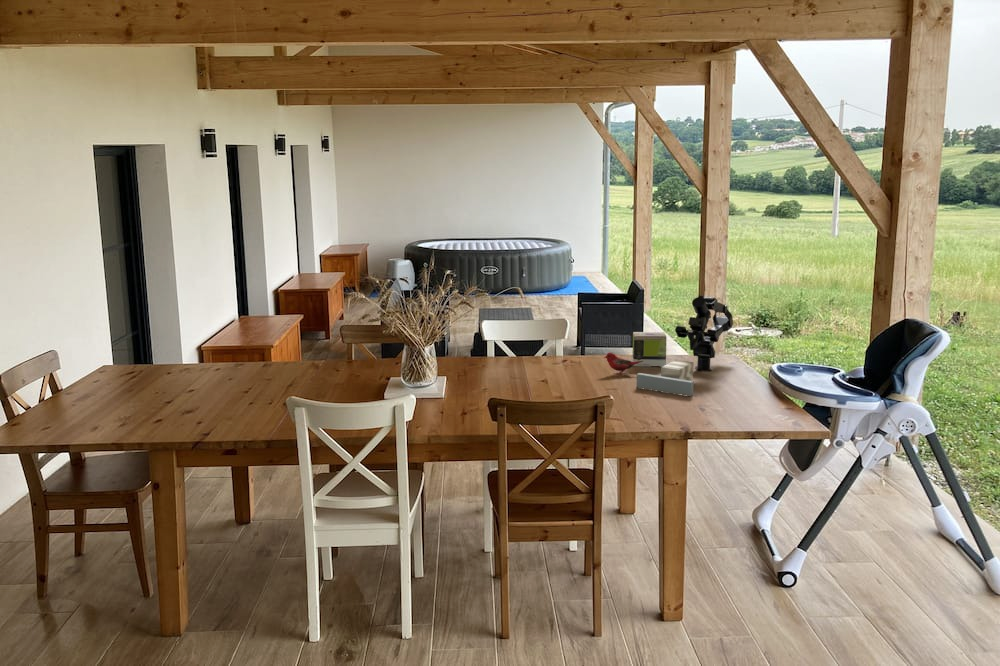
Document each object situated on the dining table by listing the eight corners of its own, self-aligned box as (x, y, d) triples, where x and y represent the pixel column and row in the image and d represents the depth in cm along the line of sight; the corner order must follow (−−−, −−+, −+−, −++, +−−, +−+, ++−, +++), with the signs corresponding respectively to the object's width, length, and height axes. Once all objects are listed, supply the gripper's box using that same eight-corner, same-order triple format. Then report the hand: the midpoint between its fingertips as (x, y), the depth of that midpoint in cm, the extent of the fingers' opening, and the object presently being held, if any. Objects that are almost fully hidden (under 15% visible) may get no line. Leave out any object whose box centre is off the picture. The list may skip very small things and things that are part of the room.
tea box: (664, 362, 412) (665, 331, 409) (665, 367, 403) (667, 336, 399) (631, 361, 414) (632, 331, 411) (632, 366, 404) (634, 335, 401)
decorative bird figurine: (603, 373, 392) (603, 351, 389) (642, 373, 392) (643, 351, 390) (604, 375, 389) (604, 353, 387) (643, 374, 389) (644, 353, 387)
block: (675, 379, 382) (676, 359, 380) (692, 382, 378) (693, 362, 376) (660, 387, 369) (661, 367, 367) (678, 390, 365) (679, 369, 363)
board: (639, 386, 370) (639, 372, 369) (692, 395, 357) (693, 381, 356) (636, 388, 368) (636, 374, 367) (690, 396, 355) (691, 382, 354)
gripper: (677, 307, 389) (666, 336, 382) (718, 312, 378) (707, 341, 372) (683, 322, 397) (672, 350, 390) (723, 327, 387) (713, 356, 380)
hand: (691, 349), depth 383 cm, fingers closed
